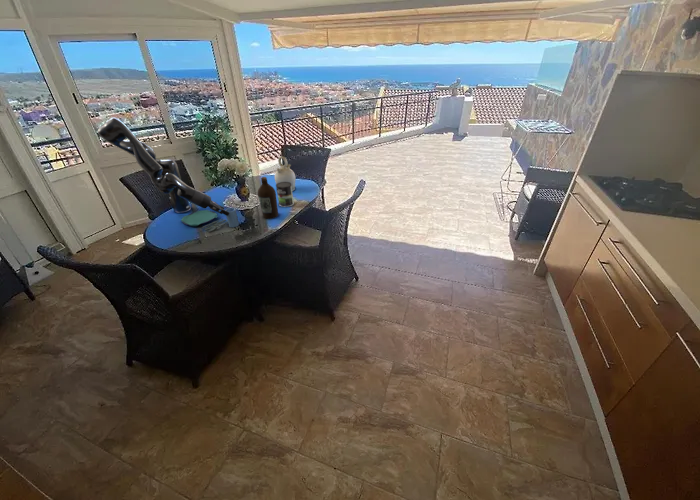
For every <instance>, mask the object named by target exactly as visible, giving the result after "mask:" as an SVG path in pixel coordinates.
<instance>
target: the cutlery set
mask: <svg viewBox="0 0 700 500" xmlns="http://www.w3.org/2000/svg"><path fill="white" fill-rule="evenodd" d="M217 218H218V214H217V212H216V211H214V210H209V209H205V210H204V209H202V210H197V211H194V212H191V213H189V214H187V215H184V216H182V218H181V219H180V221H181V223H183V225H186V226H190V227H198V226H200V225H201V226H202V225H204V226H202V227H201V228H200V229H203V230H204V231H206V232H207V233H210V232H212V231H215V230H217V229H218V228H220V227H222V226H225V225H227V224H228V221H227V219H224V218H221V219H219V220H216V221H213V220H214V219H217ZM212 221H213V222H212ZM210 222H211V223H210ZM207 223H208V224H207ZM221 223H222V224H221ZM205 224H206V225H205Z"/></svg>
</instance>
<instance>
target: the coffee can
mask: <svg viewBox="0 0 700 500" xmlns="http://www.w3.org/2000/svg"><path fill="white" fill-rule="evenodd" d="M275 188H276V196H277V202H278V206H279V207H281V208H288V207H289V208H290V207H292V206H293V205H294V204H295V200H294V194H293V191H292V184H291V183H290V182H280V183H277V184H276V183H275Z"/></svg>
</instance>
